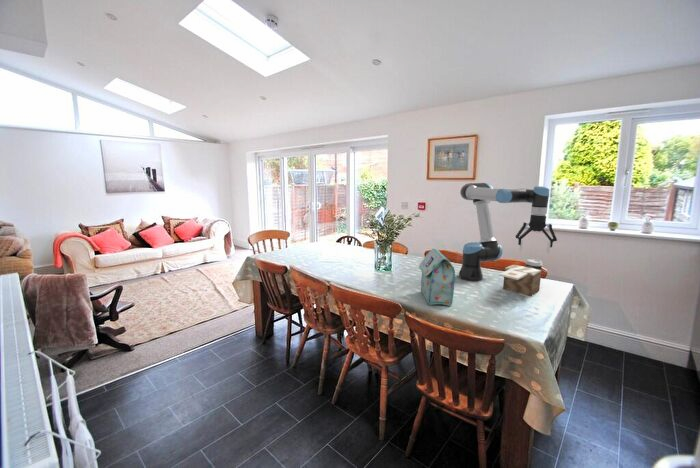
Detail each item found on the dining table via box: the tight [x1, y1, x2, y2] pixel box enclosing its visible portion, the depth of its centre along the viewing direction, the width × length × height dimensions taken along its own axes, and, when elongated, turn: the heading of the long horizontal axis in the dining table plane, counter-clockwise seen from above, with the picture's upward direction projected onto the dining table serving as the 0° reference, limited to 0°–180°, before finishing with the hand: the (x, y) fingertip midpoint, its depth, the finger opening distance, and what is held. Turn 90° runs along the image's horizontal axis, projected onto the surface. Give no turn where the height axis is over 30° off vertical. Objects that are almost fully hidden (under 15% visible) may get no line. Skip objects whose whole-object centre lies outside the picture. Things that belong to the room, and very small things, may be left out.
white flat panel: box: [498, 270, 527, 280], centre depth 180 cm, size 10×13×1 cm
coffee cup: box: [525, 258, 544, 270], centre depth 201 cm, size 10×10×15 cm
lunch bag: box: [418, 248, 456, 307], centre depth 176 cm, size 23×16×27 cm
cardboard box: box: [502, 264, 542, 297], centre depth 190 cm, size 16×12×13 cm
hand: (534, 251), depth 180 cm, fingers open, 13 cm apart
